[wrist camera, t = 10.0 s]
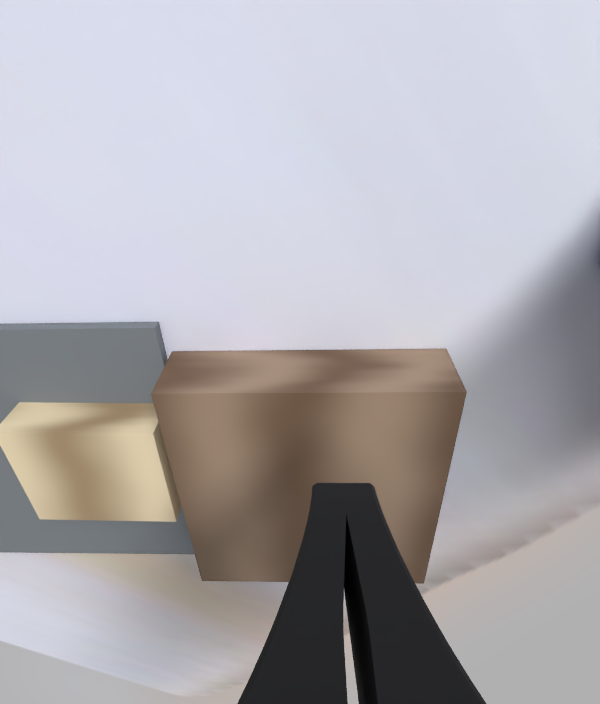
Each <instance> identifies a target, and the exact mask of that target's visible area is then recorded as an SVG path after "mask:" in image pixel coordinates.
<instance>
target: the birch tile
mask: <svg viewBox="0 0 600 704" xmlns="http://www.w3.org/2000/svg"><path fill="white" fill-rule="evenodd" d="M0 446H1V448H2V450H3V451H4V453H5V455H6V457H7V459H8V461H9V463H10V465H11V466H12V468H13V470H14V472H15V474H16V476H17V478H18V480H19V481H20V483H21V485H22V487H23V489H24V491H25V493H26V495H27V496H28V498H29V500H30V502H31V504H32V506H33V508H34V510H35V511H36V513H37V515H38V517H39V519H47V520H104V521H160V522H176V521H177V518H178V515H179V512H180V508H181V502H180V498H179V495H178V491H177V487H176V484H175V480H174V477H173V473H172V469H171V466H170V462H169V458H168V455H167V451H166V447H165V444H164V440H163V436H162V433H161V429H160V426H159V422H158V418H157V415H156V411H155V407H154V404H151V403H41V402H19V403H18V404H17V405H16V407H15V408H14V409H13V410H12V411H11V412H10V413H9V414H8V416H7V417H6V418H5V419H4V420H3V421H2V422H1V424H0Z"/></svg>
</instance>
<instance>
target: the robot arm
mask: <svg viewBox="0 0 600 704" xmlns="http://www.w3.org/2000/svg"><path fill="white" fill-rule="evenodd" d="M344 591H345V599H346V607H347V615H348V622H349V630H350V637H351V644H352V653H353V660H354V668H355V676H356V683H357V690H358V701H359V704H486V703H485V701H484V700H483V698H482V697H481V695H480V693H479V692H478V690H477V689H476V687H475V686H474V684H473V683H472V681H471V680H470V678H469V676H468V675H467V673H466V672H465V670H464V669H463V667H462V665H461V664H460V662H459V660H458V659H457V657H456V656H455V654H454V652H453V651H452V649H451V647H450V646H449V644H448V642H447V641H446V639H445V637H444V635H443V634H442V632H441V630H440V629H439V627H438V625H437V623H436V622H435V620H434V618H433V616H432V614H431V612H430V611H429V609H428V607H427V605H426V603H425V602H424V600H423V598H422V596H421V594H420V592H419V590H418V588H417V586H416V585H415V583H414V581H413V578H412V576H411V574H410V572H409V570H408V568H407V566H406V564H405V562H404V560H403V558H402V556H401V554H400V552H399V550H398V547H397V545H396V543H395V541H394V539H393V536H392V534H391V531H390V529H389V527H388V524H387V522H386V519H385V517H384V514H383V512H382V509H381V506H380V503H379V500H378V497H377V494H376V491H375V487H374V486H373V485H372V484H371V483H316V484H315V485H313V486H312V497H311V503H310V510H309V515H308V519H307V524H306V528H305V532H304V536H303V539H302V543H301V546H300V549H299V553H298V556H297V559H296V562H295V566H294V569H293V572H292V575H291V578H290V581H289V584H288V586H287V589H286V592H285V594H284V597H283V600H282V602H281V605H280V608H279V611H278V613H277V616H276V618H275V621H274V623H273V626H272V628H271V631H270V633H269V636H268V638H267V640H266V643H265V645H264V647H263V650H262V652H261V654H260V656H259V659H258V661H257V663H256V665H255V668H254V670H253V672H252V674H251V677H250V679H249V681H248V683H247V685H246V687H245V689H244V691H243V693H242V695H241V697H240V699H239V702H238V704H347V688H346V672H345V656H344V655H345V654H344V638H343V598H344Z"/></svg>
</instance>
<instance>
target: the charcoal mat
mask: <svg viewBox="0 0 600 704" xmlns="http://www.w3.org/2000/svg"><path fill="white" fill-rule="evenodd" d="M167 361H168V360H167V356H166V352H165V347H164V343H163V339H162V335H161V331H160V326H159V322H117V323H39V324H0V424H1V422H2V421H3V420H4V419H5V418H6V417H7V416H8V414H9V413H10V412H11V411H12V410H13V409H14V408H15V407H16V405H17V404H18V403H19V402H41V403H151V404H153V400H152V396H151V392H152V390H153V388H154V386H155V384H156V382H157V381H158V379H159V377H160V375H161V373H162V371H163V369H164V367H165V365H166V363H167ZM0 552H26V553H133V554H195V553H194V549H193V546H192V542H191V538H190V535H189V531H188V527H187V524H186V520H185V517H184V513H183V509H182V506H181V508H180V512H179V515H178V518H177V521H176V522H160V521H104V520H47V519H39V517H38V515H37V513H36V511H35V510H34V508H33V506H32V504H31V502H30V500H29V498H28V496H27V495H26V493H25V491H24V489H23V487H22V485H21V483H20V481H19V480H18V478H17V476H16V474H15V472H14V470H13V468H12V466H11V465H10V463H9V461H8V459H7V457H6V455H5V453H4V451H3V450H2V448H1V446H0Z"/></svg>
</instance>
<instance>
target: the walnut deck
mask: <svg viewBox="0 0 600 704" xmlns="http://www.w3.org/2000/svg"><path fill="white" fill-rule="evenodd" d="M151 396H152V400H153V404H154V407H155V411H156V415H157V418H158V422H159V426H160V429H161V433H162V436H163V440H164V444H165V447H166V451H167V455H168V458H169V462H170V466H171V469H172V473H173V477H174V480H175V484H176V487H177V491H178V495H179V498H180V502H181V506H182V509H183V513H184V517H185V520H186V524H187V527H188V531H189V535H190V538H191V542H192V546H193V549H194V553H195V557H196V560H197V564H198V568H199V571H200V575H201V578H202V581H265V582H289V581H290V578H291V575H292V572H293V569H294V566H295V562H296V559H297V556H298V553H299V549H300V546H301V543H302V539H303V536H304V532H305V528H306V524H307V519H308V515H309V510H310V503H311V497H312V486H313V485H315V484H316V483H371V484H372V485H373V486H374V487H375V491H376V494H377V497H378V500H379V503H380V506H381V509H382V512H383V514H384V517H385V519H386V522H387V524H388V527H389V529H390V531H391V534H392V536H393V539H394V541H395V543H396V545H397V547H398V550H399V552H400V554H401V556H402V558H403V560H404V562H405V564H406V566H407V568H408V570H409V572H410V574H411V576H412V578H413V581H414V583H424V580H425V576H426V571H427V567H428V562H429V558H430V553H431V549H432V544H433V540H434V535H435V531H436V526H437V522H438V518H439V513H440V509H441V504H442V500H443V495H444V491H445V486H446V482H447V477H448V473H449V468H450V464H451V459H452V455H453V450H454V446H455V442H456V437H457V433H458V428H459V424H460V419H461V415H462V410H463V406H464V401H465V397H466V390H465V387H464V385H463V383H462V381H461V379H460V377H459V375H458V372H457V370H456V368H455V366H454V364H453V362H452V360H451V358H450V355H449V353H448V351H447V349H377V350H277V351H176V352H172V353H171V355H170V357H169V359H168V361H167V363H166V365H165V367H164V369H163V371H162V373H161V375H160V377H159V379H158V381H157V382H156V384H155V386H154V388H153V390H152V392H151Z"/></svg>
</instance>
